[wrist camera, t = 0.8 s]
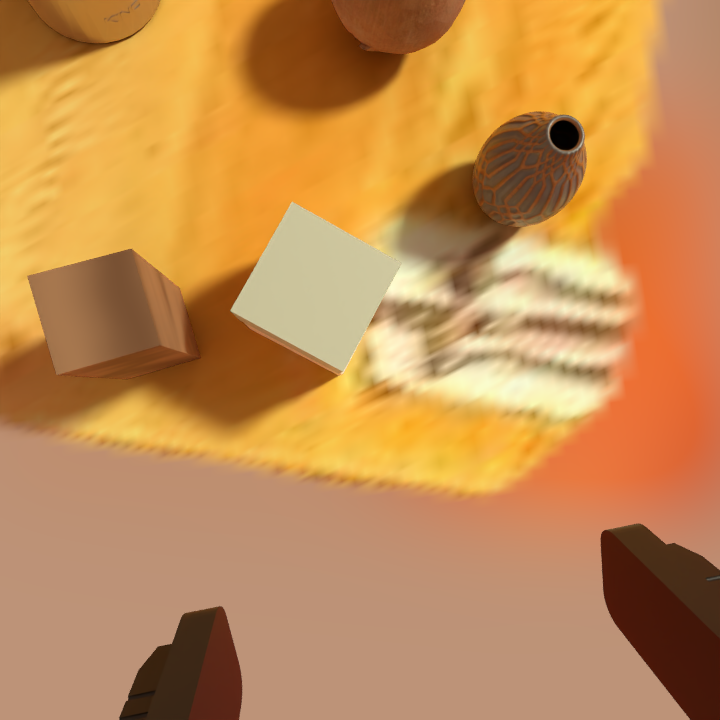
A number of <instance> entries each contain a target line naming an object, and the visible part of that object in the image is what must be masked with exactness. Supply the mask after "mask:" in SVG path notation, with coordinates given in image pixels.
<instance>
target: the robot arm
mask: <svg viewBox="0 0 720 720" xmlns="http://www.w3.org/2000/svg"><path fill="white" fill-rule="evenodd" d="M28 2H29V3H30V5H31V6H32V7H33V9H34V10H35V12H36V13H37V14H38V16H39V17H40V18H41V19H42V20H43V21H44V22H45V23H46V24H47V25H48V26H49V27H51V28H52V29H54V30H55V31H57V32H58V33H60V34H62V35H64V36H66V37H69V38H71V39H74V40H77V41H82V42H87V43H108V42H113V41H118V40H121V39H123V38H126V37H128V36H130V35H133V34H134V33H135V32H137V31H138V30H140V29H141V28H142V27H144V26H145V24H146V23H147V22H148V21H149V20H150V19H151V18H152V17H153V15H154V13H155V11H156V9H157V7H158V6H159V3H160V0H28ZM601 556H602V574H603V591H604V598H605V602H606V605H607V608H608V611H609V613H610V615H611V617H612V619H613V621H614V622H615V624H616V625H617V627H618V628H619V629H620V631H621V632H622V633H623V634H624V636H625V637H626V638H627V639H628V641H629V642H630V643H631V645H632V646H633V647H634V648H635V650H636V651H637V652H638V654H639V655H640V656H641V657H642V659H643V660H644V661H645V662H646V664H647V665H648V666H649V667H650V669H651V670H652V671H653V673H654V674H655V675H656V676H657V678H658V679H659V680H660V681H661V683H662V684H663V685H664V687H666V689H667V690H668V692H669V693H670V694H671V695H672V697H673V698H674V699H675V700H676V702H677V703H678V704H679V706H680V707H681V708H682V709H683V711H684V712H685V713H686V715H687V716H688V717H689V718H690V720H720V570H719V569H717V568H716V567H715V566H714V565H713V564H711V563H710V562H709V561H707V560H706V559H705V558H704V557H703V556H701V555H699V554H697V553H694V552H692V551H690V550H688V549H686V548H683V547H682V546H679V545H677V544H675V543H672V544H667V545H666V544H665V543H664V542H663V541H661V540H660V539H659V538H658V537H657V536H656V535H654V534H653V533H652V532H651V531H650V530H649V529H648V528H646V527H645V526H644V525H641V524H634V525H628V526H624V527H619V528H614V529H609V530H604V531H603V532H602V534H601ZM241 702H242V678H241V671H240V665H239V661H238V658H237V654H236V650H235V646H234V643H233V639H232V635H231V631H230V628H229V624H228V620H227V616H226V613H225V611H224V609H223V607H220V606H219V607H214V608H210V609H205V610H199V611H194V612H189V613H185V614H184V615H183V616H182V617H181V620H180V623H179V626H178V628H177V631H176V634H175V637H174V640H173V643H172V644H170V645H164V646H159V647H157V648H156V650H155V651H154V652H153V654H152V655H151V656H150V657H149V658H148V659H147V661H146V662H145V663H144V664H143V666H142V667H141V668H140V669H139V671H138V673H137V675H136V678H135V680H134V683H133V685H132V688H131V690H130V693H129V695H128V701H126V703H125V705H124V708H123V710H122V712H121V715H120V717H119V718H120V720H239V716H240V709H241Z"/></svg>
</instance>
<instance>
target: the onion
mask: <svg viewBox="0 0 720 720" xmlns="http://www.w3.org/2000/svg"><path fill="white" fill-rule="evenodd" d="M331 1H332V3H333V6H334V8H335V10H336V12H337V14H338V17H339V19H340V20H341V22H342V24H343V25H344V27H345V28H346V30H347V31H349V32H350V33H352V34H353V36H354V37H355V38H357V39H358V40H359V41H360V42H361V44H360V45H359V47H360V48H361V49H363V50H368V51H381V52H386V53H394V54H407V53H412V52H416V51H418V50H420V49H423V48H425V47H427V46H429V45H431V44H433V43H435V42H436V41H437V40H438V39H440V38H441V37H442V36H443V35H444V34H445V33H446V32H447V31H448V29H449V28H450V27H451V26H452V24H453V22H454V20H455V19H456V17H457V16H458V14H459V12H460V10H461V9H462V7H463V4H464V2H465V0H331Z"/></svg>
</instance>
